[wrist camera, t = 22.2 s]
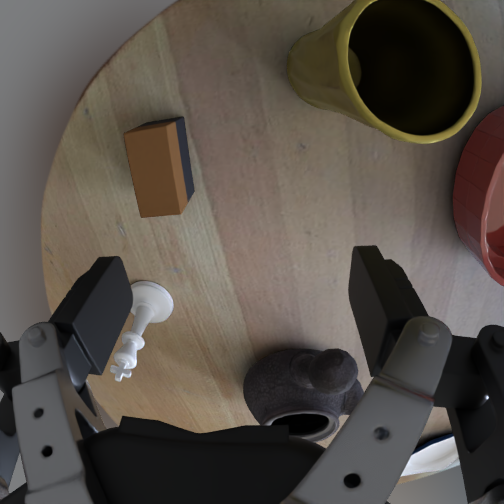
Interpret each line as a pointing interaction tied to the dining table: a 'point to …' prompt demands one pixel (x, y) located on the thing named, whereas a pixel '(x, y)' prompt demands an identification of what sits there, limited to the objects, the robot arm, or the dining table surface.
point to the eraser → (160, 167)
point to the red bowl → (482, 195)
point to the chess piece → (141, 323)
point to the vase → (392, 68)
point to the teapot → (303, 391)
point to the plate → (432, 456)
